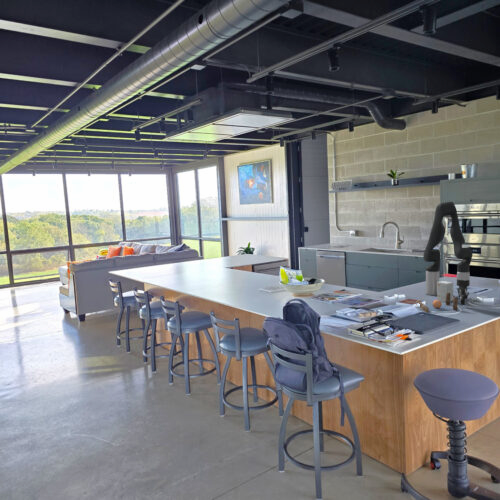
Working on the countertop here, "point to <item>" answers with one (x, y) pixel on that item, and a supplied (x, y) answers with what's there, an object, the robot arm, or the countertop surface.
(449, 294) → the post
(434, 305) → the ball
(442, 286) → the small box
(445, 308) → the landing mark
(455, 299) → the post
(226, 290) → the countertop surface
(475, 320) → the countertop surface
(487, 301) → the countertop surface
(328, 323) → the countertop surface
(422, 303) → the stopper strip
